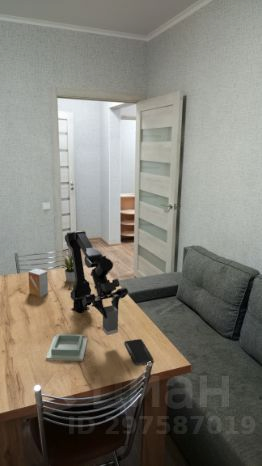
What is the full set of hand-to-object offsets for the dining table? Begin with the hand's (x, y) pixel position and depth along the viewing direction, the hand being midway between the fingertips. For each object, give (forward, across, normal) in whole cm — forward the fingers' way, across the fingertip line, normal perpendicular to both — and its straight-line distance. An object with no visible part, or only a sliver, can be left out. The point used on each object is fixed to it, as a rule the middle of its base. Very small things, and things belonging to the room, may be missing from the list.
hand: (111, 316), depth 131 cm
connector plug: (+4, 0, +6) cm, 7 cm away
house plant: (-41, +9, +60) cm, 73 cm away
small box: (-34, -14, +53) cm, 64 cm away
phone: (+16, +8, +4) cm, 18 cm away
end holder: (+5, -16, +14) cm, 22 cm away
